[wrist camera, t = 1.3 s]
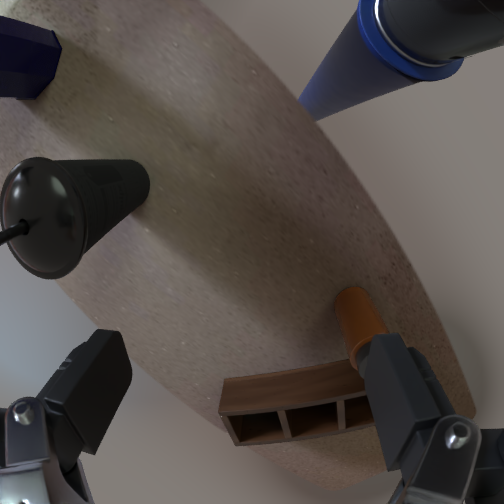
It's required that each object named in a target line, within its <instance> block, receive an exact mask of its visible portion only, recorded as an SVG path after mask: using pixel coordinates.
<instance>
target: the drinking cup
mask: <svg viewBox="0 0 504 504" xmlns="http://www.w3.org/2000/svg"><path fill="white" fill-rule="evenodd" d="M149 189H150V181H149V176H148V174H147V172H146V170H145V169H144V167H143V166H142V165H141V164H139V163H138V162H136V161H133V160H108V159H101V160H51V159H48V158H44V157H33V158H29V159H26V160H23V161H21V162H20V163H18V164H17V165H16V166H15V167H14V168H13V169H12V170H11V172H10V173H9V174H8V176H7V178H6V180H5V182H4V185H3V188H2V191H1V196H0V222H1V226H2V231H1V232H0V246H1V245H3V244H4V243H7V245H8V247H9V249H10V251H11V252H12V254H13V255H14V257H15V258H16V259H17V261H18V262H19V263H20V264H21V265H22V266H23V267H24V268H25V269H26V270H27V271H29V272H30V273H32V274H33V275H35V276H37V277H40V278H43V279H59V278H62V277H64V276H66V275H67V274H69V273H70V272H71V271H72V270H74V269H75V268H76V266H77V265H78V264H79V262H80V260H81V259H82V256H83V255H84V254H85V253H86V252H87V251H88V250H89V249H90V248H91V247H92V246H93V245H94V244H95V243H97V242H98V241H99V240H100V239H101V238H102V237H103V236H104V235H105V234H107V233H108V232H109V231H110V230H111V229H112V228H113V227H115V226H116V225H117V224H118V223H119V222H120V221H122V220H123V219H124V218H125V217H126V216H127V215H129V214H130V213H131V212H132V211H133V210H135V209H136V208H137V207H138V206H139V205H141V204H142V203H143V202H144V201H145V199H146V198H147V195H148V193H149Z"/></svg>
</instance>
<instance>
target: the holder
mask: <svg viewBox="0 0 504 504" xmlns="http://www.w3.org/2000/svg"><path fill="white" fill-rule="evenodd" d="M218 413H219V415H220V417H221V419H222V421H223V423H224V425H225V427H226V429H227V431H228V433H229V435H230V437H231V439H232V440H233V442H234V444H235V446H248V445H262V444H273V443H282V442H290V441H298V440H305V439H312V438H318V437H324V436H330V435H335V434H340V433H345V432H350V431H355V430H359V429H363V428H368V427H372V426H376V425H375V421H374V418H373V414H372V411H371V408H370V404H369V401H368V397H367V394H366V391H365V385H364V379H363V378H362V377H361V376H360V375H359V372H358V370H356V369H355V368H354V367H353V366H352V365H351V363H350V359H347V360H342V361H337V362H332V363H327V364H322V365H317V366H311V367H306V368H300V369H294V370H288V371H281V372H275V373H268V374H260V375H253V376H244V377H236V378H226V379H224V385H223V390H222V395H221V400H220V405H219V410H218Z"/></svg>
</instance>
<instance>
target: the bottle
mask: <svg viewBox="0 0 504 504" xmlns="http://www.w3.org/2000/svg"><path fill="white" fill-rule="evenodd" d="M61 51H62V47H61V45H60V43H59V41H58V39H57V37H56V35H55V33H54V31H53V30H52V31H50V30H47V29H44V28H41V27H38V26H35V25H32V24H28V23H25V22H22V21H18V20H15V19H11V18H7V17H4V16H0V98H16V99H17V100H23V99H31V100H35V99H36V98H37V96H38V95H39V94H40V93H41V92H42V91H43V90H44V89H45V87H46V86H47V85H48V84H49V83H50V82H51V81H52V80H53V79H54V77H55V73H56V69H57V65H58V61H59V58H60V54H61Z"/></svg>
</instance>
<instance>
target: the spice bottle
mask: <svg viewBox="0 0 504 504" xmlns="http://www.w3.org/2000/svg"><path fill="white" fill-rule="evenodd" d="M334 311H335V314H336V317H337V320H338V323H339V326H340V330H341V333H342V336H343V339H344V343H345V346H346V349H347V353H348V356H349V359H350V363H351V365H352V366H353V367H354V368H355V369H356V370H358V372H359V375H360V376H361V377H362V378H363V379H364V375H365V369H366V365H367V361H368V356H369V351H370V347H371V342H372V338H373V336H374V335H375V334H388V333H390V332H389V330H388V328H387V326H386V325H385V323H384V321H383V319H382V317H381V315H380V313H379V312H378V310H377V308H376V306H375V304H374V302H373V301H372V299H371V297H370V295H369V293H368V292H367V291H366V290H365V289H363V288H360V287H350V288H347V289H345V290H343V291H342V292H341V293H339V295H338V296H337V297H336V299H335V302H334Z"/></svg>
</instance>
